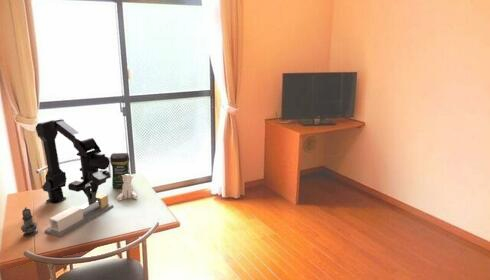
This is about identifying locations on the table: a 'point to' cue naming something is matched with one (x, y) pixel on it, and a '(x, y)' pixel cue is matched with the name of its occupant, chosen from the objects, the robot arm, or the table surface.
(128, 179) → the seated beast figurine
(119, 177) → the coffee jar
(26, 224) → the dark grey statuette
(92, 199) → the steel t-shaped block
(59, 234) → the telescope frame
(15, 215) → the table surface
